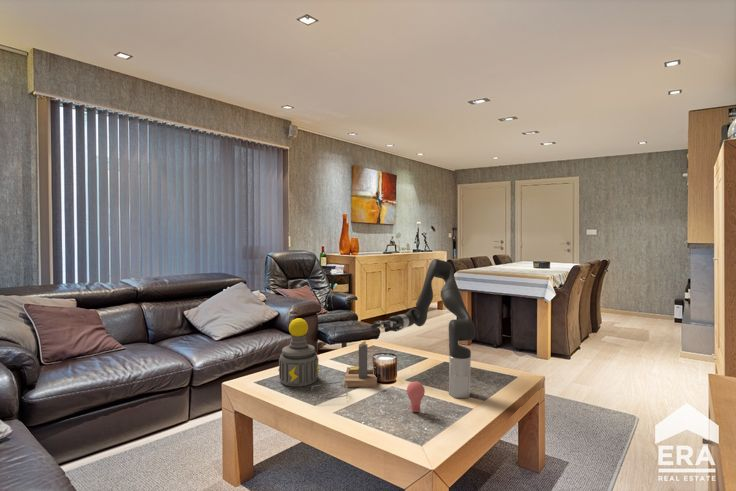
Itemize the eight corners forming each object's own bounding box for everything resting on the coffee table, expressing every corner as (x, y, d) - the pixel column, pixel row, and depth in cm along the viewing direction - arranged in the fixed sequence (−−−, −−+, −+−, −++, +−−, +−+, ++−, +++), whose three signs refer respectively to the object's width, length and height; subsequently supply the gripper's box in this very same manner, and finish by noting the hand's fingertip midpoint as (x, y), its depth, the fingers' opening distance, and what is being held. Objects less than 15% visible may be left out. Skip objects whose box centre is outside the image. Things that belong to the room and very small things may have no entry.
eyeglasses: (350, 402, 182) (350, 391, 182) (314, 405, 179) (314, 394, 178) (343, 388, 197) (343, 377, 197) (311, 391, 194) (311, 380, 194)
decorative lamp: (322, 373, 215) (321, 314, 213) (313, 388, 196) (313, 323, 194) (285, 372, 217) (284, 313, 215) (273, 386, 198) (272, 322, 196)
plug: (367, 378, 200) (367, 342, 200) (358, 378, 201) (358, 342, 200) (367, 375, 204) (367, 340, 204) (359, 375, 205) (359, 340, 204)
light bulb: (412, 406, 177) (413, 377, 177) (427, 410, 173) (428, 381, 172) (403, 412, 172) (403, 382, 171) (418, 417, 167) (418, 386, 167)
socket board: (376, 387, 198) (376, 379, 197) (344, 386, 198) (344, 379, 198) (376, 373, 215) (376, 366, 215) (347, 373, 216) (347, 366, 216)
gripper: (387, 313, 226) (367, 318, 214) (409, 317, 217) (389, 323, 205) (387, 327, 227) (367, 333, 215) (409, 332, 217) (389, 338, 205)
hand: (378, 328), depth 210 cm, fingers open, 8 cm apart
